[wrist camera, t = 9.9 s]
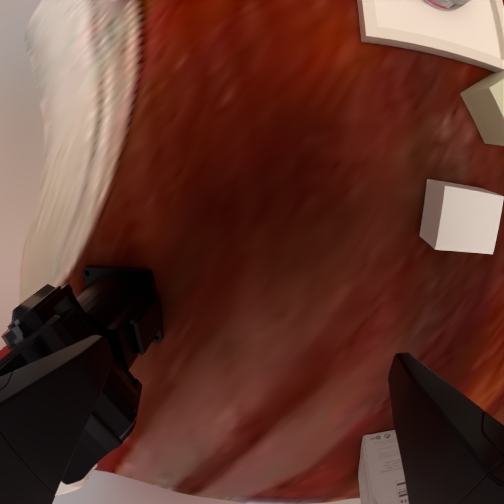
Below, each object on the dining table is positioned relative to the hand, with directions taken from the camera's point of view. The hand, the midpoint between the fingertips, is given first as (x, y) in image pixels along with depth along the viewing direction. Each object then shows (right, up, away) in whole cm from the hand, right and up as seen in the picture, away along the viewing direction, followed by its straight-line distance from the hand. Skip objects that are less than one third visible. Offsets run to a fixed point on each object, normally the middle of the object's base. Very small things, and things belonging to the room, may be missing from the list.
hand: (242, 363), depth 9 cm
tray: (+13, +22, +4) cm, 26 cm away
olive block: (+17, +14, +7) cm, 23 cm away
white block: (+14, +6, +10) cm, 19 cm away
